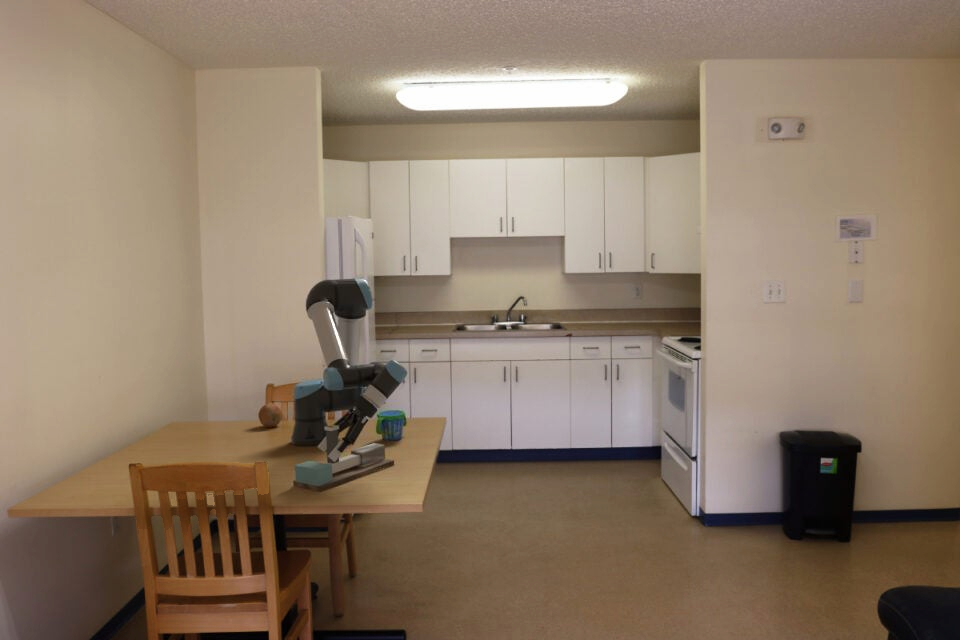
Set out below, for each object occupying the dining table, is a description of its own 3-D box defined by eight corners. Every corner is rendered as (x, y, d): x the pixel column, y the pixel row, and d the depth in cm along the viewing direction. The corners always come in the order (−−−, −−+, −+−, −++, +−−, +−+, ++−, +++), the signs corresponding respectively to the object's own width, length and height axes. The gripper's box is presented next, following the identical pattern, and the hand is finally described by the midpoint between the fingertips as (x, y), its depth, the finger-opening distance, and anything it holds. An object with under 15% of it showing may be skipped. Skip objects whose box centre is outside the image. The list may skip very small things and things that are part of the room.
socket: (295, 481, 240) (294, 465, 240) (310, 476, 245) (309, 460, 245) (318, 486, 234) (317, 469, 234) (332, 481, 239) (331, 464, 239)
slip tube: (311, 476, 241) (309, 431, 240) (360, 460, 259) (358, 417, 258) (318, 478, 239) (316, 432, 238) (367, 461, 257) (365, 418, 256)
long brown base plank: (293, 485, 241) (292, 465, 240) (367, 460, 268) (367, 441, 268) (320, 491, 234) (319, 470, 233) (394, 464, 261) (393, 445, 261)
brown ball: (276, 423, 333) (274, 400, 332) (287, 426, 325) (286, 402, 324) (255, 427, 326) (253, 403, 325) (266, 430, 319) (264, 406, 318)
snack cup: (386, 445, 289) (385, 418, 288) (367, 441, 295) (366, 414, 295) (416, 436, 301) (415, 410, 300) (397, 433, 307) (396, 407, 306)
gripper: (390, 416, 240) (344, 470, 235) (366, 402, 262) (324, 452, 257) (373, 401, 237) (326, 456, 232) (350, 388, 260) (308, 438, 255)
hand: (325, 454), depth 245 cm, fingers open, 13 cm apart
